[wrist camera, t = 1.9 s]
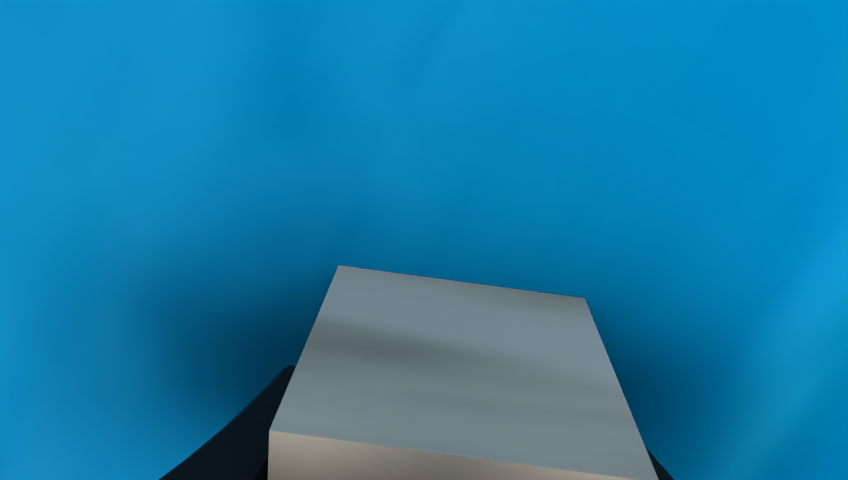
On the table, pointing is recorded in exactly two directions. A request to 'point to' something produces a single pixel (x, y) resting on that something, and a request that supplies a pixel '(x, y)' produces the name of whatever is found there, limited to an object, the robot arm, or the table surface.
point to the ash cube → (452, 388)
